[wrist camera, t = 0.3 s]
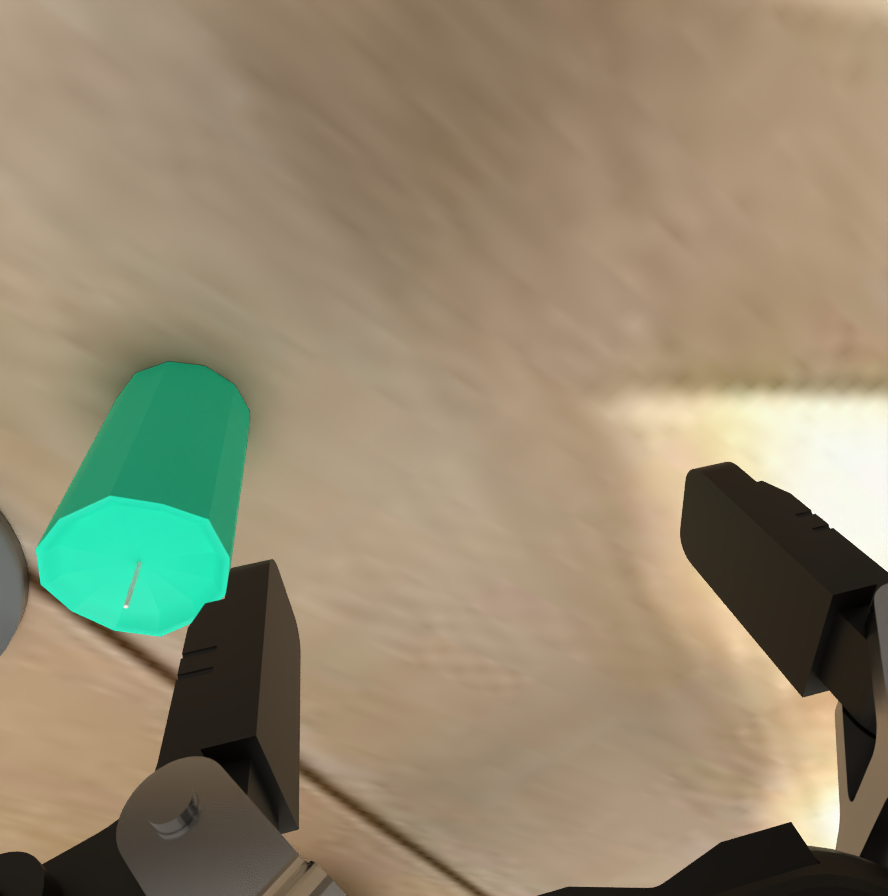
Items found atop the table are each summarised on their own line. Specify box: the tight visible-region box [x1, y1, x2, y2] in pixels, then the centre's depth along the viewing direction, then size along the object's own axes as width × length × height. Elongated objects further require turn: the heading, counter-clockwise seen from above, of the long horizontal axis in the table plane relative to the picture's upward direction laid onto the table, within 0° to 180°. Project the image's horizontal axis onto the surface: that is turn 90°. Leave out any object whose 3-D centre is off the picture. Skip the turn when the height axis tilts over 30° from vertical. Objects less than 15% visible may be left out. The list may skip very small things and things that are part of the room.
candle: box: [36, 361, 250, 637], centre depth 24 cm, size 6×6×12 cm
